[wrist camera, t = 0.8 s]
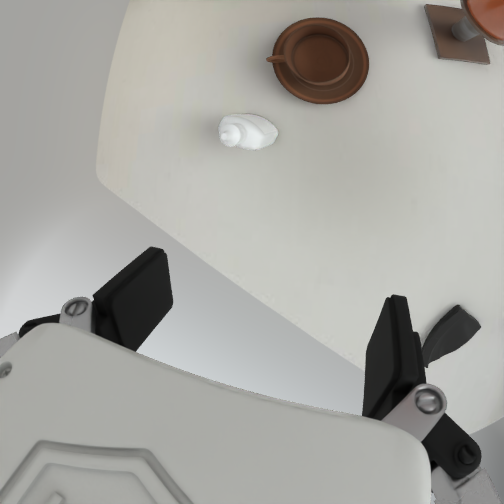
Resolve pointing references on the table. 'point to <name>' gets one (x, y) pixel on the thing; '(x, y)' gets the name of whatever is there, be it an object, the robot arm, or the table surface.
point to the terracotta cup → (489, 16)
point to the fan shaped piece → (449, 334)
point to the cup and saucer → (320, 60)
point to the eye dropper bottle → (247, 131)
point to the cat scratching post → (458, 34)
